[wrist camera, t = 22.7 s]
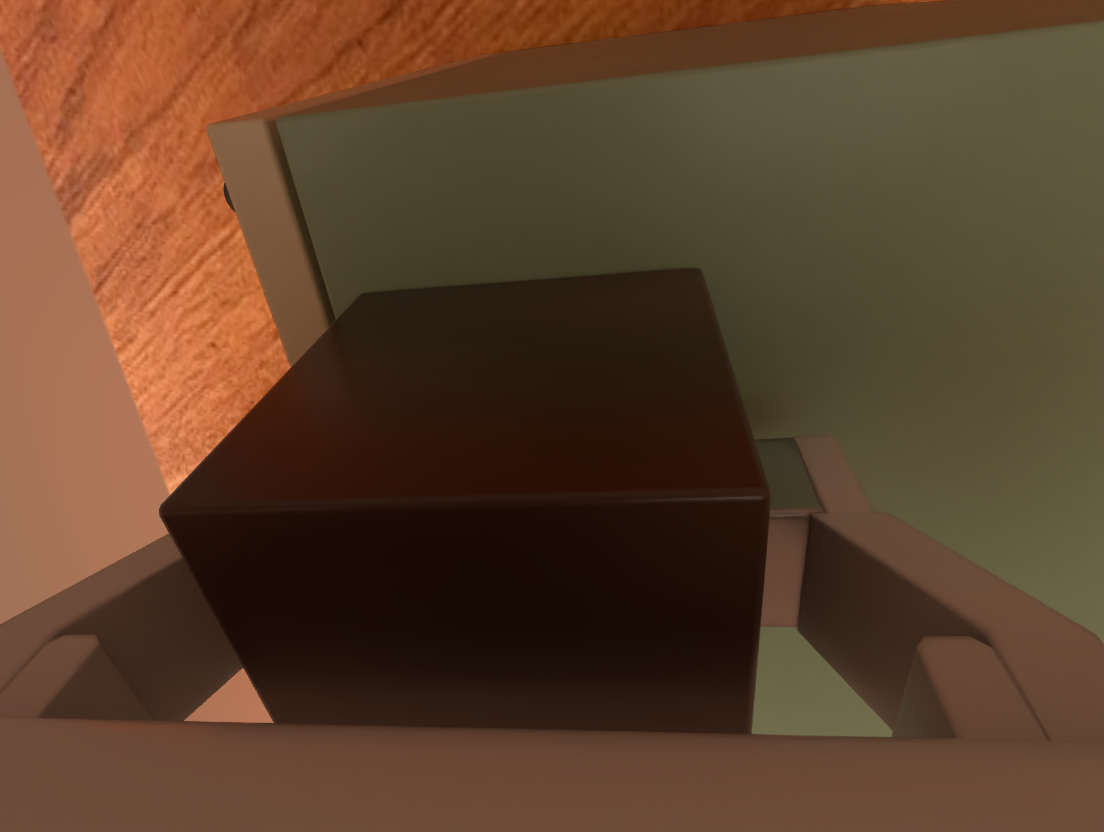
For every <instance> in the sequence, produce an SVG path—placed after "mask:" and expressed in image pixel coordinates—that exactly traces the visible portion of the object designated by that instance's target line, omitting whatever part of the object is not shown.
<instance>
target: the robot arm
mask: <svg viewBox="0 0 1104 832" xmlns="http://www.w3.org/2000/svg"><path fill="white" fill-rule="evenodd" d="M755 442H756V445H757V449H758V452H759V455H760V458H761V462H762V465H763V468H764V471H765V474H766V478H767V481H768V484H769V487H770V491H771V494H772V495H771V507H770V519H769V531H768V543H767V556H766V568H765V580H764V592H763V604H762V616H761V627H796V628H797V631H798V632H799V633H800V634H801V635H802V636H803V637H804V638H805V639H806V640H807V642H808V643H809V644H810V645H811V646H812V647H813V648H814V649H815V650H816V651H817V652H818V653H819V654H820V655H821V656H822V657H823V658H824V659H825V660H826V662H827V663H828V664H829V665H830V666H831V667H832V668H833V669H834V670H835V671H836V672H837V673H838V674H839V675H840V676H841V677H842V678H843V679H844V680H845V682H846V683H847V684H848V685H849V686H850V687H851V688H852V689H853V690H854V691H855V692H856V693H857V694H858V695H859V696H860V697H861V698H862V699H863V700H864V701H865V703H866V704H867V705H868V706H869V707H870V708H871V709H872V710H873V711H874V712H875V713H876V714H877V715H878V716H879V717H880V718H881V719H882V720H883V721H884V723H885V724H886V725H887V726H888V727H889V728H890V729H891V730H892V731H893V734H892V737H862V736H817V735H773V734H729V733H686V732H642V731H599V730H555V729H511V728H466V727H421V726H376V725H332V724H287V723H241V722H237V723H236V722H197V721H184V720H185V719H186V718H187V717H188V716H189V715H190V714H192V713H193V712H194V711H195V710H196V709H197V708H198V707H199V706H201V705H202V704H203V703H204V702H205V701H206V700H207V699H208V698H209V697H211V696H212V695H213V694H214V693H215V692H216V691H217V690H218V689H219V688H221V687H222V686H223V685H224V684H225V683H226V682H227V681H228V680H230V679H231V678H232V677H233V676H234V675H235V674H236V673H237V672H238V671H239V670H241V669H242V668H243V666H242V664H241V663H240V661H239V659H238V657H237V655H236V653H235V652H234V650H233V648H232V646H231V644H230V643H229V641H228V639H227V637H226V635H225V634H224V632H223V630H222V628H221V626H220V624H219V623H218V621H217V619H216V617H215V615H214V614H213V612H212V610H211V608H210V606H209V605H208V603H207V601H206V599H205V597H204V595H203V594H202V592H201V590H200V588H199V586H198V585H197V583H196V581H195V579H194V577H193V576H192V574H191V572H190V570H189V568H188V567H187V565H186V563H185V561H184V559H183V557H182V556H181V554H180V552H179V550H178V548H177V547H176V545H175V543H174V541H173V539H172V538H171V536H170V534H167V535H165V536H163V537H162V538H160V539H158V540H156V541H155V542H152V543H150V544H149V545H147V546H145V547H143V548H141V549H140V550H137V551H136V552H134V553H132V554H130V555H128V556H126V557H125V558H123V559H121V560H119V561H117V562H115V563H114V564H112V565H110V566H108V567H106V568H104V569H102V570H100V571H98V572H97V573H95V574H93V575H91V576H89V577H87V578H86V579H84V580H82V581H80V582H78V583H76V584H74V585H73V586H71V587H69V588H67V589H65V590H63V591H61V592H60V593H58V594H56V595H54V596H52V597H50V598H48V599H47V600H45V601H43V602H41V603H39V604H37V605H35V606H34V607H32V608H30V609H28V610H26V611H24V612H23V613H21V614H19V615H17V616H15V617H13V618H11V619H10V620H8V621H6V622H4V623H2V624H0V832H1104V644H1103V643H1102V641H1101V640H1100V639H1099V637H1098V636H1097V635H1096V634H1095V633H1093V632H1091V631H1090V630H1088V629H1086V628H1085V627H1083V626H1081V625H1079V624H1078V623H1076V622H1074V621H1073V620H1071V619H1069V618H1067V617H1066V616H1064V615H1062V614H1061V613H1059V612H1057V611H1056V610H1054V609H1052V608H1050V607H1049V606H1047V605H1045V604H1044V603H1042V602H1040V601H1038V600H1037V599H1035V598H1033V597H1032V596H1030V595H1028V594H1026V593H1025V592H1023V591H1021V590H1020V589H1018V588H1016V587H1014V586H1013V585H1011V584H1009V583H1008V582H1006V581H1004V580H1002V579H1001V578H999V577H997V576H996V575H994V574H992V573H990V572H989V571H987V570H985V569H984V568H982V567H980V566H978V565H977V564H975V563H973V562H972V561H970V560H968V559H966V558H965V557H963V556H961V555H960V554H958V553H956V552H954V551H953V550H951V549H949V548H948V547H946V546H944V545H942V544H941V543H939V542H937V541H936V540H934V539H932V538H930V537H929V536H927V535H925V534H924V533H922V532H920V531H919V530H917V529H915V528H913V527H912V526H910V525H908V524H907V523H905V522H903V521H901V520H900V519H898V518H896V517H895V516H893V515H891V514H889V513H888V512H874V511H873V509H872V507H871V505H870V503H869V501H868V499H867V497H866V495H865V493H864V491H863V489H862V487H861V485H860V483H859V482H858V480H857V478H856V476H855V474H854V472H853V470H852V468H851V466H850V464H849V462H848V460H847V458H846V456H845V455H844V453H843V451H842V449H841V447H840V445H839V443H838V441H837V439H836V437H834V436H832V435H831V434H823V435H809V436H795V437H789V438H772V439H755Z"/></svg>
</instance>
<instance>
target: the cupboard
mask: <svg viewBox="0 0 1104 832" xmlns="http://www.w3.org/2000/svg"><path fill="white" fill-rule="evenodd" d="M276 125H277V128H278V132H279V135H280V138H281V142H282V145H283V148H284V151H285V155H286V158H287V161H288V165H289V168H290V171H291V174H292V178H293V181H294V184H295V187H296V191H297V194H298V197H299V201H300V204H301V207H302V210H303V214H304V217H305V220H306V224H307V227H308V230H309V233H310V237H311V240H312V243H313V247H314V250H315V253H316V256H317V260H318V263H319V266H320V270H321V273H322V276H323V279H324V283H325V286H326V289H327V293H328V296H329V299H330V302H331V306H332V309H333V312H334V316H335V319H337V318H338V317H339V316H340V315H341V314H342V313H343V312H344V311H345V310H346V309H347V308H348V307H349V306H350V305H351V304H352V302H353V301H354V300H355V299H356V298H357V297H358V296H359V295H361V294H363V293H375V292H388V291H401V290H414V289H427V288H441V287H454V286H467V285H480V284H494V283H507V282H520V281H533V280H547V279H560V278H573V277H586V276H599V275H613V274H626V273H639V272H652V271H666V270H679V269H692V268H698V269H701V270H702V272H703V274H704V278H705V281H706V284H707V287H708V291H709V294H710V297H711V300H712V303H713V307H714V310H715V313H716V316H717V320H718V323H719V326H720V329H721V332H722V336H723V339H724V342H725V345H726V349H727V352H728V355H729V358H730V362H731V365H732V368H733V371H734V374H735V378H736V381H737V384H738V387H739V391H740V394H741V397H742V400H743V403H744V407H745V410H746V413H747V416H748V420H749V423H750V426H751V429H752V433H753V436H754V439H772V438H789V437H795V436H809V435H823V434H831V435H832V436H834V437H836V439H837V441H838V443H839V445H840V447H841V449H842V451H843V453H844V455H845V456H846V458H847V460H848V462H849V464H850V466H851V468H852V470H853V472H854V474H855V476H856V478H857V480H858V482H859V483H860V485H861V487H862V489H863V491H864V493H865V495H866V497H867V499H868V501H869V503H870V505H871V507H872V509H873V511H874V512H888V513H889V514H891V515H893V516H895V517H896V518H898V519H900V520H901V521H903V522H905V523H907V524H908V525H910V526H912V527H913V528H915V529H917V530H919V531H920V532H922V533H924V534H925V535H927V536H929V537H930V538H932V539H934V540H936V541H937V542H939V543H941V544H942V545H944V546H946V547H948V548H949V549H951V550H953V551H954V552H956V553H958V554H960V555H961V556H963V557H965V558H966V559H968V560H970V561H972V562H973V563H975V564H977V565H978V566H980V567H982V568H984V569H985V570H987V571H989V572H990V573H992V574H994V575H996V576H997V577H999V578H1001V579H1002V580H1004V581H1006V582H1008V583H1009V584H1011V585H1013V586H1014V587H1016V588H1018V589H1020V590H1021V591H1023V592H1025V593H1026V594H1028V595H1030V596H1032V597H1033V598H1035V599H1037V600H1038V601H1040V602H1042V603H1044V604H1045V605H1047V606H1049V607H1050V608H1052V609H1054V610H1056V611H1057V612H1059V613H1061V614H1062V615H1064V616H1066V617H1067V618H1069V619H1071V620H1073V621H1074V622H1076V623H1078V624H1079V625H1081V626H1083V627H1085V628H1086V629H1088V630H1090V631H1091V632H1093V633H1095V634H1096V635H1097V636H1098V637H1099V639H1100V640H1101V641H1102V643H1103V644H1104V0H952V1H934V2H916V3H898V4H881V5H873V6H865V7H857V8H849V9H841V10H833V11H825V12H817V13H809V14H801V15H794V16H786V17H778V18H770V19H762V20H754V21H746V22H738V23H730V24H722V25H714V26H706V27H698V28H690V29H682V30H674V31H666V32H659V33H651V34H643V35H635V36H627V37H619V38H611V39H603V40H595V41H587V42H579V43H571V44H563V45H555V46H547V47H539V48H531V49H524V50H516V51H508V52H505V53H501V54H498V55H494V56H491V57H487V58H484V59H480V60H477V61H473V62H470V63H466V64H463V65H459V66H456V67H452V68H448V69H445V70H441V71H438V72H434V73H431V74H427V75H424V76H420V77H417V78H413V79H410V80H406V81H403V82H399V83H396V84H392V85H389V86H385V87H382V88H378V89H375V90H371V91H368V92H364V93H361V94H357V95H354V96H350V97H347V98H343V99H340V100H336V101H333V102H329V103H326V104H322V105H318V106H315V107H312V108H310V109H304V110H301V111H297V112H294V113H290V114H287V115H283V116H280V117H279V118H277V120H276ZM752 734H773V735H817V736H862V737H892V734H893V731H892V730H891V729H890V728H889V727H888V726H887V725H886V724H885V723H884V721H883V720H882V719H881V718H880V717H879V716H878V715H877V714H876V713H875V712H874V711H873V710H872V709H871V708H870V707H869V706H868V705H867V704H866V703H865V701H864V700H863V699H862V698H861V697H860V696H859V695H858V694H857V693H856V692H855V691H854V690H853V689H852V688H851V687H850V686H849V685H848V684H847V683H846V682H845V680H844V679H843V678H842V677H841V676H840V675H839V674H838V673H837V672H836V671H835V670H834V669H833V668H832V667H831V666H830V665H829V664H828V663H827V662H826V660H825V659H824V658H823V657H822V656H821V655H820V654H819V653H818V652H817V651H816V650H815V649H814V648H813V647H812V646H811V645H810V644H809V643H808V642H807V640H806V639H805V638H804V637H803V636H802V635H801V634H800V633H799V632H798V631H797V628H796V627H761V629H760V641H759V653H758V665H757V677H756V689H755V701H754V714H753V726H752Z"/></svg>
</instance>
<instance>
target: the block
mask: <svg viewBox="0 0 1104 832" xmlns="http://www.w3.org/2000/svg"><path fill="white" fill-rule="evenodd" d="M771 495H772V494H771V491H770V487H769V484H768V481H767V478H766V474H765V471H764V468H763V465H762V462H761V458H760V455H759V452H758V449H757V445H756V442H755V439H754V436H753V433H752V429H751V426H750V423H749V420H748V416H747V413H746V410H745V407H744V403H743V400H742V397H741V394H740V391H739V387H738V384H737V381H736V378H735V374H734V371H733V368H732V365H731V362H730V358H729V355H728V352H727V349H726V345H725V342H724V339H723V336H722V332H721V329H720V326H719V323H718V320H717V316H716V313H715V310H714V307H713V303H712V300H711V297H710V294H709V291H708V287H707V284H706V281H705V278H704V274H703V272H702V270H701V269H698V268H692V269H679V270H666V271H652V272H639V273H626V274H613V275H599V276H586V277H573V278H560V279H547V280H533V281H520V282H507V283H494V284H480V285H467V286H454V287H441V288H427V289H414V290H401V291H388V292H375V293H363V294H361V295H359V296H358V297H357V298H356V299H355V300H354V301H353V302H352V304H351V305H350V306H349V307H348V308H347V309H346V310H345V311H344V312H343V313H342V314H341V315H340V316H339V317H338V318H337V319H336V320H335V321H334V323H333V324H332V325H331V326H330V327H329V328H328V329H327V330H326V331H325V332H324V333H323V334H322V335H321V336H320V337H319V338H318V339H317V341H316V342H315V343H314V344H313V345H312V346H311V347H310V348H309V349H308V350H307V351H306V352H305V353H304V354H303V355H302V356H301V357H300V358H299V360H298V361H297V362H296V363H295V364H294V365H293V366H292V367H291V368H290V369H289V370H288V371H287V372H286V373H285V374H284V375H283V376H282V378H281V379H280V380H279V381H278V382H277V383H276V384H275V385H274V386H273V387H272V388H271V389H270V390H269V391H268V392H267V393H266V394H265V395H264V397H263V398H262V399H261V400H260V401H259V402H258V403H257V404H256V405H255V406H254V407H253V408H252V409H251V410H250V411H249V412H248V413H247V415H246V416H245V417H244V418H243V419H242V420H241V421H240V422H239V423H238V424H237V425H236V426H235V427H234V428H233V429H232V430H231V431H230V432H229V434H228V435H227V436H226V437H225V438H224V439H223V440H222V441H221V442H220V443H219V444H218V445H217V446H216V447H215V448H214V449H213V450H212V452H211V453H210V454H209V455H208V456H207V457H206V458H205V459H204V460H203V461H202V462H201V463H200V464H199V465H198V466H197V467H196V468H195V469H194V471H193V472H192V473H191V474H190V475H189V476H188V477H187V478H186V479H185V480H184V481H183V482H182V483H181V484H180V485H179V486H178V487H177V489H176V490H175V491H174V492H173V493H172V494H171V495H170V496H169V497H168V498H167V499H166V500H165V501H164V502H163V503H162V504H161V506H160V509H159V515H160V518H161V519H162V521H163V523H164V525H165V527H166V528H167V530H168V532H169V534H170V536H171V538H172V539H173V541H174V543H175V545H176V547H177V548H178V550H179V552H180V554H181V556H182V557H183V559H184V561H185V563H186V565H187V567H188V568H189V570H190V572H191V574H192V576H193V577H194V579H195V581H196V583H197V585H198V586H199V588H200V590H201V592H202V594H203V595H204V597H205V599H206V601H207V603H208V605H209V606H210V608H211V610H212V612H213V614H214V615H215V617H216V619H217V621H218V623H219V624H220V626H221V628H222V630H223V632H224V634H225V635H226V637H227V639H228V641H229V643H230V644H231V646H232V648H233V650H234V652H235V653H236V655H237V657H238V659H239V661H240V663H241V664H242V666H243V668H244V670H245V672H246V673H247V675H248V677H249V679H250V681H251V682H252V684H253V686H254V688H255V690H256V691H257V693H258V695H259V697H260V698H261V700H262V702H263V704H264V706H265V708H266V709H267V711H268V713H269V715H270V717H271V719H272V720H273V722H274V723H287V724H332V725H376V726H421V727H466V728H511V729H555V730H599V731H642V732H686V733H729V734H752V726H753V714H754V701H755V689H756V677H757V665H758V653H759V641H760V629H761V616H762V604H763V592H764V580H765V568H766V556H767V543H768V531H769V519H770V507H771Z"/></svg>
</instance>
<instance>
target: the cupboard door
mask: <svg viewBox="0 0 1104 832" xmlns="http://www.w3.org/2000/svg"><path fill="white" fill-rule="evenodd" d="M498 54H501V53H493V54H484V55H479V56H475V57H471V58H467V59H463V60H459V61H455V62H451V63H447V64H443V65H439V66H435V67H431V68H427V69H423V70H420V71H416V72H412V73H408V74H404V75H400V76H396V77H392V78H388V79H384V80H380V81H376V82H372V83H368V84H364V85H361V86H357V87H353V88H349V89H345V90H341V91H337V92H333V93H329V94H325V95H321V96H317V97H313V98H309V99H305V100H301V101H298V102H294V103H290V104H286V105H282V106H278V107H274V108H270V109H266V110H262V111H258V112H254V113H250V114H246V115H242V116H239V117H235V118H231V119H227V120H223V121H219V122H215V123H211V124H209V125H208V126H207V127H206V130H207V133H208V136H209V139H210V142H211V145H212V147H213V150H214V153H215V156H216V159H217V162H218V164H219V167H220V170H221V173H222V176H223V178H224V181H225V183H224V195H225V198H226V201H227V203H228V204H229V206H230V207H231V209H232V210H233V211H234V212H235V213H236V215H237V218H238V221H239V223H240V226H241V229H242V232H243V235H244V238H245V240H246V243H247V246H248V249H249V252H250V254H251V257H252V260H253V263H254V266H255V269H256V271H257V274H258V277H259V280H260V283H261V285H262V288H263V291H264V294H265V297H266V300H267V302H268V305H269V308H270V311H271V314H272V316H273V319H274V322H275V325H276V328H277V331H278V333H279V336H280V339H281V342H282V345H283V347H284V350H285V353H286V356H287V359H288V362H289V364H290V367H292V366H293V365H294V364H295V363H296V362H297V361H298V360H299V358H300V357H301V356H302V355H303V354H304V353H305V352H306V351H307V350H308V349H309V348H310V347H311V346H312V345H313V344H314V343H315V342H316V341H317V339H318V338H319V337H320V336H321V335H322V334H323V333H324V332H325V331H326V330H327V329H328V328H329V327H330V326H331V325H332V324H333V323H334V321H335V320H336V319H335V316H334V312H333V309H332V306H331V302H330V299H329V296H328V293H327V289H326V286H325V283H324V279H323V276H322V273H321V270H320V266H319V263H318V260H317V256H316V253H315V250H314V247H313V243H312V240H311V237H310V233H309V230H308V227H307V224H306V220H305V217H304V214H303V210H302V207H301V204H300V201H299V197H298V194H297V191H296V187H295V184H294V181H293V178H292V174H291V171H290V168H289V165H288V161H287V158H286V155H285V151H284V148H283V145H282V142H281V138H280V135H279V132H278V128H277V125H276V120H277V118H279V117H280V116H283V115H287V114H290V113H294V112H297V111H301V110H304V109H310V108H312V107H315V106H318V105H322V104H326V103H329V102H333V101H336V100H340V99H343V98H347V97H350V96H354V95H357V94H361V93H364V92H368V91H371V90H375V89H378V88H382V87H385V86H389V85H392V84H396V83H399V82H403V81H406V80H410V79H413V78H417V77H420V76H424V75H427V74H431V73H434V72H438V71H441V70H445V69H448V68H452V67H456V66H459V65H463V64H466V63H470V62H473V61H477V60H480V59H484V58H487V57H491V56H494V55H498Z"/></svg>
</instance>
